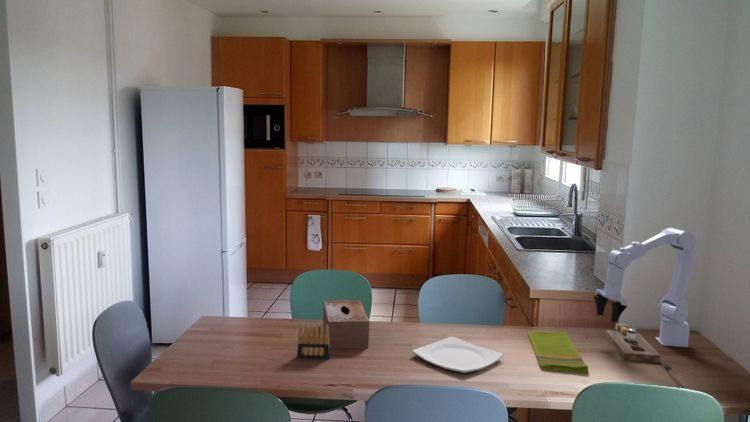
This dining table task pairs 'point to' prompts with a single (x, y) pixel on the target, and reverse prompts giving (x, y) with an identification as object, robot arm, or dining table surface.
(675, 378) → the tactical tomahawk
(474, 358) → the plate
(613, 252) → the robot arm
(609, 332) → the board
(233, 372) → the dining table surface
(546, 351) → the dish towel
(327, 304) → the tissue box cover
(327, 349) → the ammunition clip
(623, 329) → the key
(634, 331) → the peg
